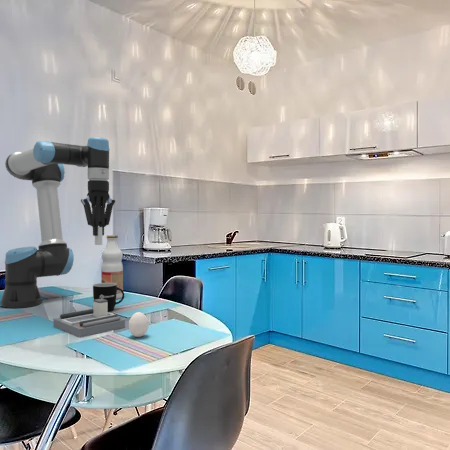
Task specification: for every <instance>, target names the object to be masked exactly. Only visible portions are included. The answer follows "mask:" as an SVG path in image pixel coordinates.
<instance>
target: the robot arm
mask: <svg viewBox="0 0 450 450" xmlns="http://www.w3.org/2000/svg"><path fill="white" fill-rule="evenodd" d="M4 163H5V168H6V169H5V170H6V171H7V172H8V173H9V174H10V175H11V176H12V177H14V178H16V179H19V180H21V181H31V183H32V187H33V188H34V189H36V197H37V207H38V219H39V227H40V236H41V237H40V239H41V242H40V243H39V245H38V246H37V247H36V246H24V247H18V248H13V249H10V250H8V251H6V253H5V259H4V264H5V265H4V266H5V276H4V277H5V285H4V286H5V288H4V291H3V293H2V296H1V298H0V306H1V307H2V306H3V307H2V308H5V307H7V309H19V308H20V309H21V308H28V307H29V308H30V307H34V306H39V305H40V304H42V295H41V293H40V290H39V287H38V284H37V283H38V281H37V280H38V278H44V277H55V276H56V277H57V276H62V275H63V276H64V275H66V274H68V273H70V271H71V270H72V268H73V265H74V259H75V258H74V256H75V255H74V251H73V250H72V248H70V247H68V243H67V242H66V241H64V240H63V231H62V221H61V220H62V219H61V212H60V211H61V210H60V202H59V201H60V200H59V192H58V187H60V185H61V182H63V180H64V178H65V173H66V172H65V166H64V165H68V166H76V167H78V168H79V167H80V168H86V167H87V179H88V181H87V194H86V197H84V198H81V199H80V202H81V203H82V205H83V209H84V214H85V218H86V222H87V225H88V226H90V227H92V236H94V245H95V246H103V236H104V235H105V228H106V227H107V226H109V225H110V221H111V217H112V212H113V207H114V205H115V204H116V200H115V199H113V198H111V195H110V193H109V191H110V182H109V181H108V180H110V143H109V139H107V138H106V137H101V136H100V137H99V136H93V137H92V136H90V137H89V138H88V139H87V144H86V145H77V144H69V143H63V142H62V143H60V142H53V141H48V140H38V141H36V142H35V144H34V146H33V148H31V149H29V150H26V151H15V152H13V153H11V154H9V155H8V156H7V157H6V159H5V162H4Z"/></svg>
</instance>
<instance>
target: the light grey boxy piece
mask: <svg viewBox="0 0 450 450" xmlns="http://www.w3.org/2000/svg"><path fill="white" fill-rule="evenodd" d="M92 301H93V305H92V306H93V308H92V309H93V316H95V317H103V316H108V300H105V299H95V300H94V299H93V300H92Z"/></svg>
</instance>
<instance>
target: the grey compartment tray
mask: <svg viewBox="0 0 450 450" xmlns="http://www.w3.org/2000/svg"><path fill="white" fill-rule="evenodd" d="M111 315H116V314H115V313H112V312H110V311H109V312H108V316H111ZM103 317H106V316H103ZM96 318H101V317H95V316H93V314H87V315H82V316H77V317H71V318H66V319H61V318H60V317H56V318H53V323H52V325H53V327H54V328H57V329H59V330H60V331H64V332H66V333H68V334H70V335H74V336H76V337H79V338H84V337H89V336H92V335H96V334H100V333H106V332H109V331H110V332H111V331H115V330H118V329H120V330H121V329H123V328H126V326H125V325H126V320H125V319H123V318H121V319H120V320H116V321H112V322H107V323H102V324H97V325H92V326H88V327H83V326H81V327H80V325H79V323H80V321H86V320H91V319H96Z"/></svg>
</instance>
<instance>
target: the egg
mask: <svg viewBox="0 0 450 450" xmlns="http://www.w3.org/2000/svg"><path fill="white" fill-rule="evenodd" d="M149 325H150V324H149V320H148V318H147V316H146V314H145V313H143V312H141V311H137V312H134V313H133V314H132V315H131V317H130V318H129V321H128V330H129V332H130V334H131V335H132V336H133V337H136V338H141V337H143V336H144V335H145V334H147V332H148V331H149Z"/></svg>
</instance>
